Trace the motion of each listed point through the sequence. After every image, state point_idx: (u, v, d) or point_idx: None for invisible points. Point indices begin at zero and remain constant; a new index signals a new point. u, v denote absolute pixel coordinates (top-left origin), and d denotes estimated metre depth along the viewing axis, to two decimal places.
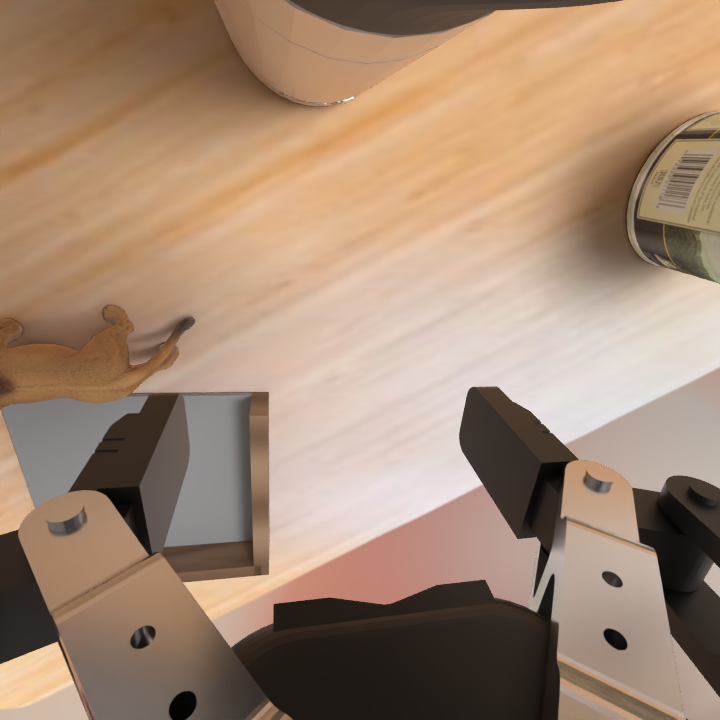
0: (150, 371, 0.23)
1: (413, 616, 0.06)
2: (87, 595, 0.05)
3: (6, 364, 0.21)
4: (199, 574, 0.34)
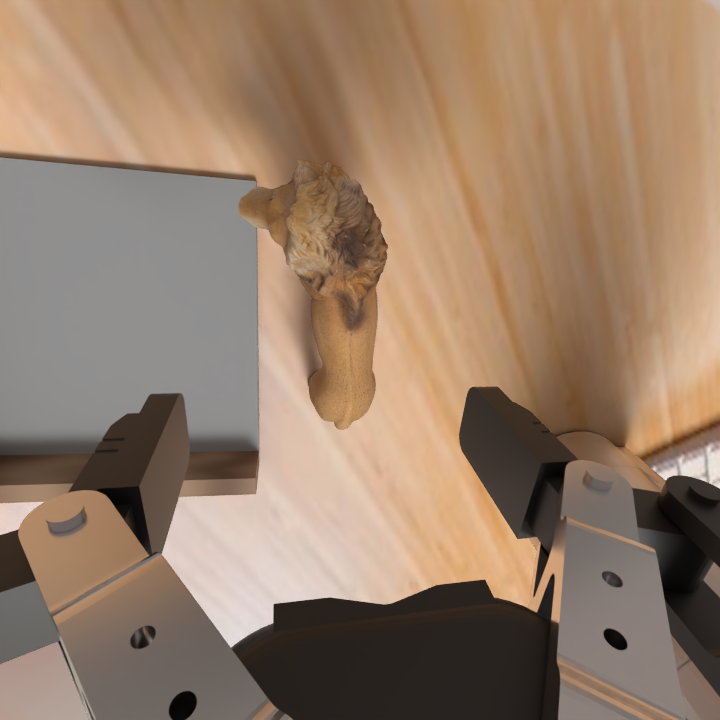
0: None
1: (413, 616, 0.06)
2: (87, 595, 0.05)
3: (373, 318, 0.18)
4: None
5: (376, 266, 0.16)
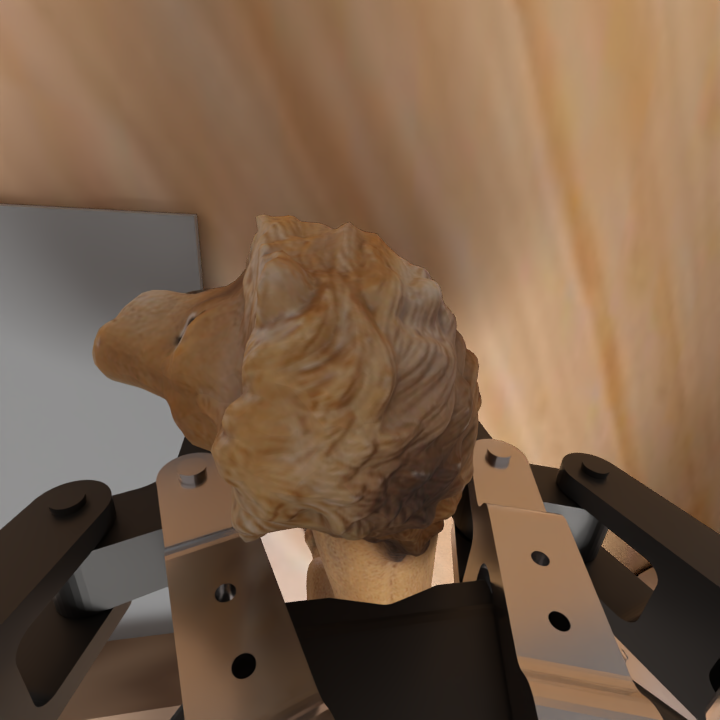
0: None
1: (413, 616, 0.06)
2: (192, 542, 0.06)
3: None
4: None
5: (471, 475, 0.06)
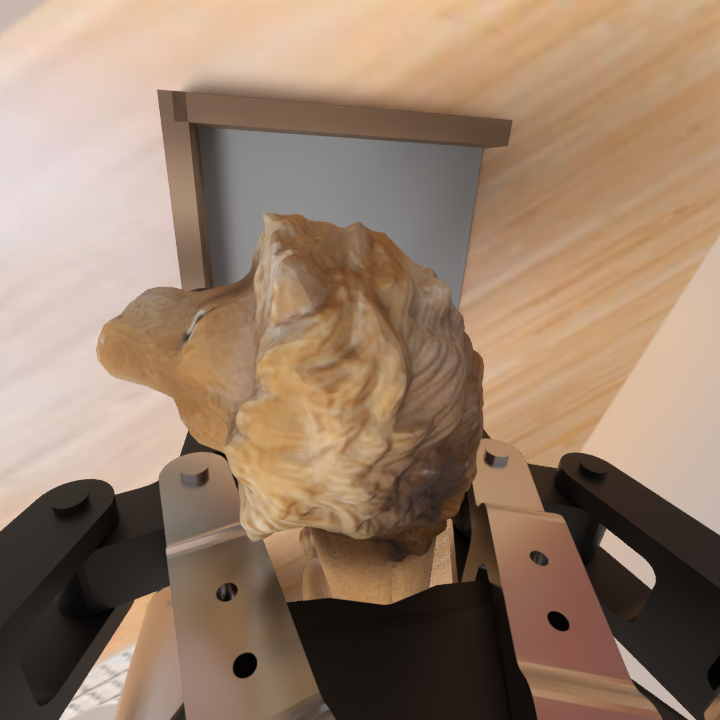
0: None
1: (412, 615, 0.06)
2: (193, 542, 0.06)
3: None
4: (281, 119, 0.20)
5: (475, 475, 0.06)
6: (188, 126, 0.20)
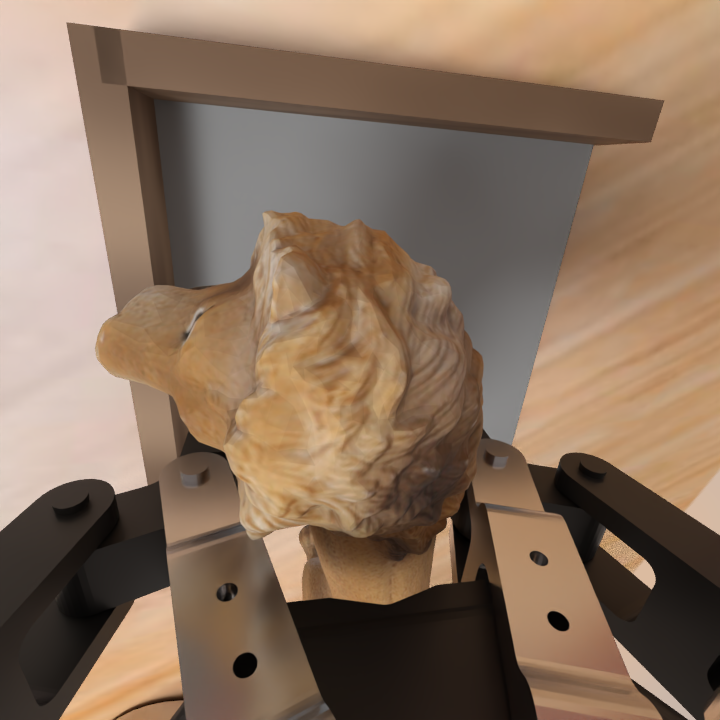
0: None
1: (413, 616, 0.06)
2: (194, 542, 0.06)
3: None
4: (292, 85, 0.12)
5: (475, 473, 0.06)
6: (127, 93, 0.11)
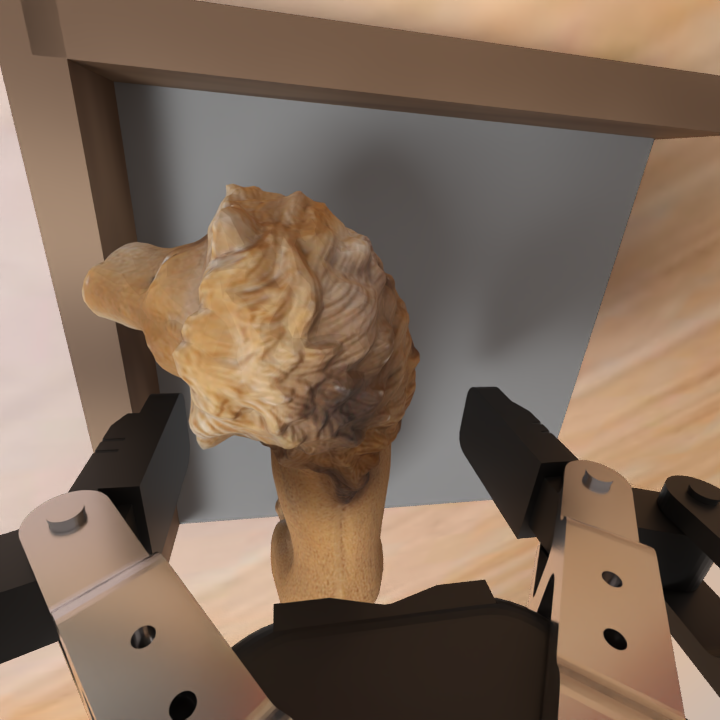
0: None
1: (413, 616, 0.06)
2: (87, 595, 0.05)
3: (385, 473, 0.10)
4: (288, 59, 0.09)
5: (401, 415, 0.07)
6: (68, 69, 0.08)
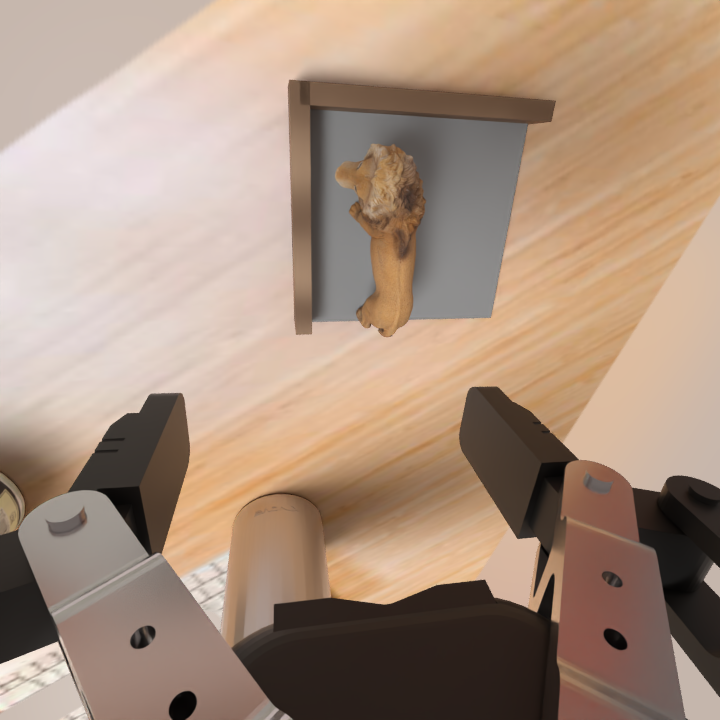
0: (386, 336, 0.31)
1: (413, 616, 0.06)
2: (87, 595, 0.05)
3: (414, 252, 0.27)
4: (379, 101, 0.26)
5: (421, 212, 0.24)
6: (309, 108, 0.25)
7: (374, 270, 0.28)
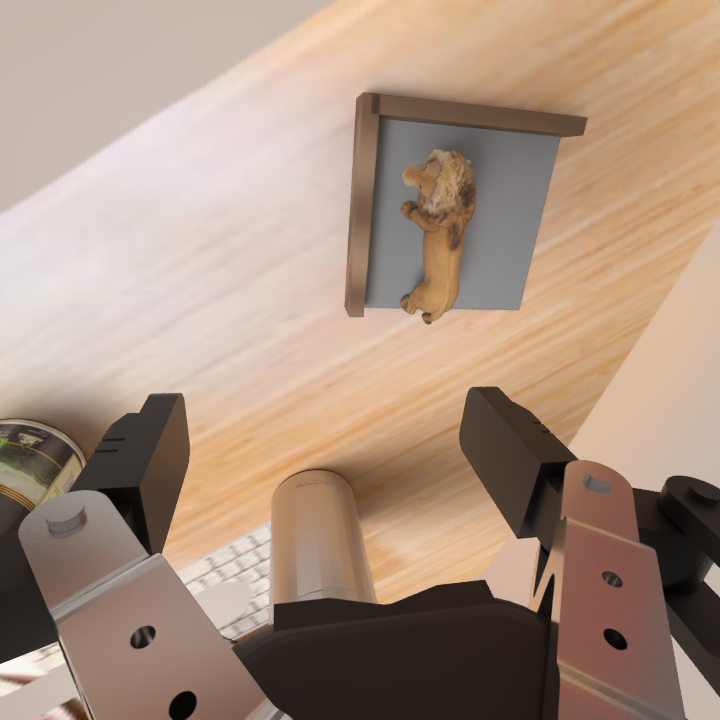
0: None
1: (413, 616, 0.06)
2: (87, 595, 0.05)
3: (462, 245, 0.31)
4: (438, 113, 0.30)
5: (474, 209, 0.28)
6: (378, 117, 0.29)
7: (426, 260, 0.32)
